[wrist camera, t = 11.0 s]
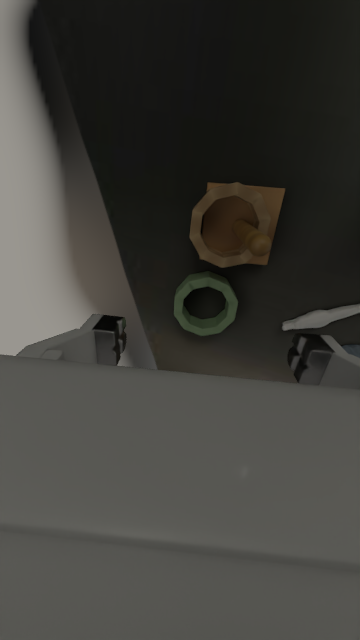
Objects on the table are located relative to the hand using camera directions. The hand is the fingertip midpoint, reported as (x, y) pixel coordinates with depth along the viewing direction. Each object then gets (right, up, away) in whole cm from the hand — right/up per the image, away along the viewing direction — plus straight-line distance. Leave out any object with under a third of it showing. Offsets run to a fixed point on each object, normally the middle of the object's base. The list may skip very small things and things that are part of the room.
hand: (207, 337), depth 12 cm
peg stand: (+6, +13, +20) cm, 25 cm away
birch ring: (+4, +13, +19) cm, 23 cm away
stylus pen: (+21, +2, +25) cm, 33 cm away
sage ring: (+2, +4, +25) cm, 26 cm away
